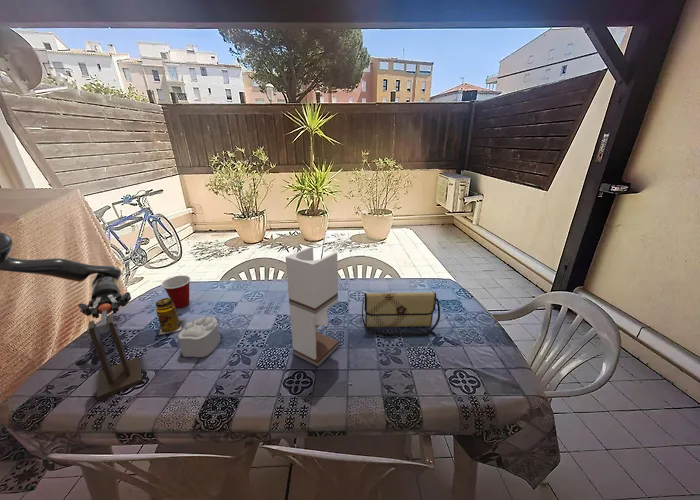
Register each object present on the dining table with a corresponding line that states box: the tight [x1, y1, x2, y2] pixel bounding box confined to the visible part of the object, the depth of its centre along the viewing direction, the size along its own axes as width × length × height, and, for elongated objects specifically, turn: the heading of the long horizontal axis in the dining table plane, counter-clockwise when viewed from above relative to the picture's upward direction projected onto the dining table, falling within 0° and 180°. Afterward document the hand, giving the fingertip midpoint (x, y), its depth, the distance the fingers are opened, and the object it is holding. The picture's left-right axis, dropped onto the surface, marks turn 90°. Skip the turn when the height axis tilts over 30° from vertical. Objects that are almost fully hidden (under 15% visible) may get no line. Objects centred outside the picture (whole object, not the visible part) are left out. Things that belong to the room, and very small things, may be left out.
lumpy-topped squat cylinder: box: [177, 316, 221, 358], centre depth 94 cm, size 10×13×9 cm
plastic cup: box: [160, 275, 191, 309], centre depth 118 cm, size 11×11×12 cm
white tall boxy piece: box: [284, 246, 339, 367], centre depth 87 cm, size 11×11×35 cm
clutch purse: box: [360, 291, 441, 337], centre depth 101 cm, size 30×7×15 cm, turn 92°
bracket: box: [86, 314, 144, 401], centre depth 78 cm, size 12×10×20 cm
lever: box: [95, 303, 113, 336], centre depth 81 cm, size 19×4×4 cm, turn 40°
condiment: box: [155, 297, 185, 336], centre depth 103 cm, size 7×8×12 cm
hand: (105, 313), depth 85 cm, fingers closed on lever, 3 cm apart
